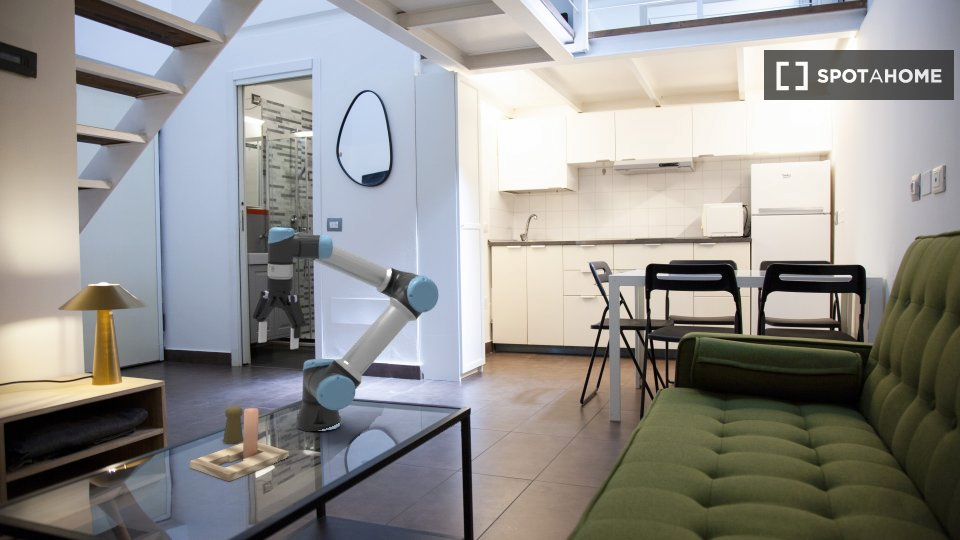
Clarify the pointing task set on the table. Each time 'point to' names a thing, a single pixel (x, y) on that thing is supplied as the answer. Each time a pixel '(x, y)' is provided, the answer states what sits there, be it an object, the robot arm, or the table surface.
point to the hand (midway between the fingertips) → (278, 345)
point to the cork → (233, 425)
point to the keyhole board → (251, 464)
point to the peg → (250, 432)
